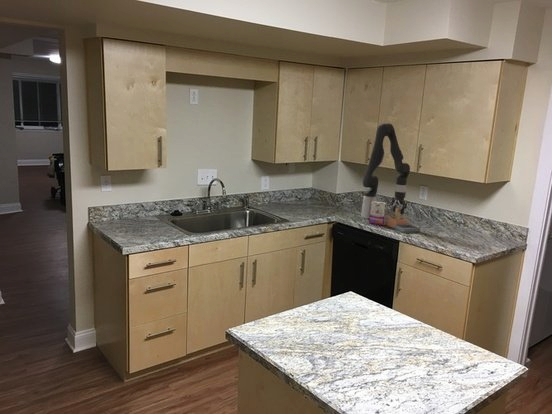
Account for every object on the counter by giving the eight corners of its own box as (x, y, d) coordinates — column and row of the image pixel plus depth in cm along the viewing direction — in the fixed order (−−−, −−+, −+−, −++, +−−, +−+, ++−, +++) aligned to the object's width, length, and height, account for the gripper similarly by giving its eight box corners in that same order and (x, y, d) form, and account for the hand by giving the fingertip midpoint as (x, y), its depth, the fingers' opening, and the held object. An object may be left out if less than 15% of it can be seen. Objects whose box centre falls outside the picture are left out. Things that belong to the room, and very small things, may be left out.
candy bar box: (385, 224, 338) (387, 202, 334) (383, 225, 333) (386, 203, 330) (370, 222, 343) (372, 200, 339) (368, 223, 338) (370, 201, 335)
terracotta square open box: (386, 225, 336) (387, 216, 334) (397, 224, 340) (398, 216, 338) (395, 228, 327) (396, 219, 325) (406, 228, 331) (407, 219, 329)
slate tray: (393, 229, 325) (393, 225, 325) (409, 228, 331) (409, 224, 330) (403, 233, 316) (403, 228, 315) (419, 232, 321) (419, 227, 320)
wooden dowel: (392, 226, 334) (394, 207, 331) (397, 225, 336) (399, 207, 333) (396, 227, 330) (398, 208, 328) (400, 227, 332) (402, 208, 329)
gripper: (390, 189, 333) (387, 211, 336) (402, 192, 320) (400, 215, 323) (398, 189, 335) (396, 210, 339) (411, 192, 323) (408, 214, 326)
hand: (398, 212), depth 331 cm, fingers open, 8 cm apart
